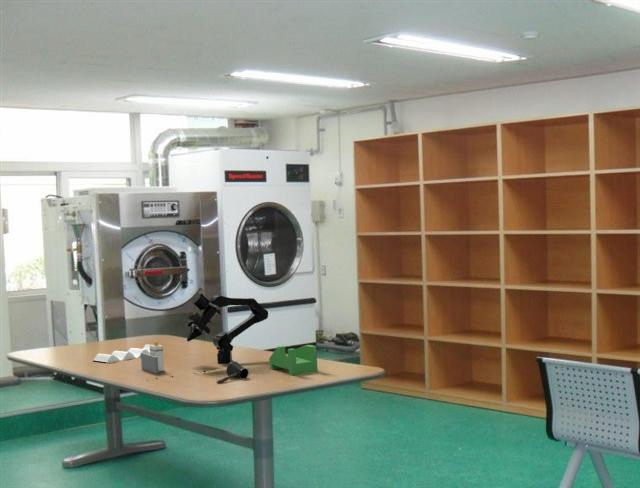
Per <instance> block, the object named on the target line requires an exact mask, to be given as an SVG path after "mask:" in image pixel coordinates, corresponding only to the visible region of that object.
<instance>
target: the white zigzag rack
mask: <svg viewBox="0 0 640 488" xmlns="http://www.w3.org/2000/svg"><path fill="white" fill-rule="evenodd" d="M150 345H151V344H149V343H148V344H146V343H145V344H144V346H143V347H142V348H137V347H136V348H135V347H130V348H129V349H128V351H123V350H121V351H120V350H114V351H113V352H112V353H111V354H105V353H98V354H96V355H95V357H94V359H93V360H92V363H99V364H104V365H105V364H106V363H107V364H111V363H116V362H117V361H118V362H123V361H127V360H132V359H138V358H141V353H146V354H149V355H150Z"/></svg>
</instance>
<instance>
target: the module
mask: <svg viewBox="0 0 640 488" xmlns="http://www.w3.org/2000/svg"><path fill="white" fill-rule="evenodd" d="M149 345H150V355H152V356H156V357H158V360H160V368H159V369H158V372H163V371H165V362H164V361H165V360H164V346H163V345H161V344H159V341H153V344H149Z"/></svg>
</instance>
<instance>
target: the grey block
mask: <svg viewBox="0 0 640 488" xmlns="http://www.w3.org/2000/svg"><path fill="white" fill-rule="evenodd" d="M140 360H141V361H140V362H141V363H140V364H141V370H144V371H147V372H149V373H152V374H155V375H158V374H159V371H158V369H159V368H160V360H158V357H156V356H152V355H149V354H146V353H141V357H140Z"/></svg>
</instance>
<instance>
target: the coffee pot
mask: <svg viewBox="0 0 640 488" xmlns="http://www.w3.org/2000/svg"><path fill="white" fill-rule="evenodd" d="M225 373H226V377H223V378H220V379H216V380H215V382H216V384H218V385H220V384H223V383H225V382H226V381H228V380H229V379H232V378H235V379H237V378H241V379H242V380H243V379H247V378H248V377H249V369H248V368H244V367H243V366H242V365H241V363H239V362H238V361H234V360H233V361H232V362H231V363H228V365H227V366H226V371H225Z"/></svg>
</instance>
